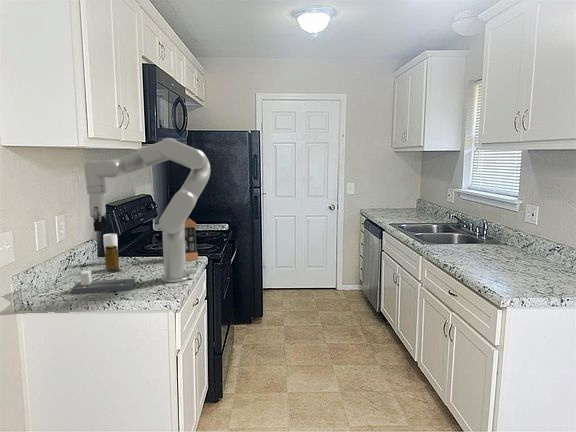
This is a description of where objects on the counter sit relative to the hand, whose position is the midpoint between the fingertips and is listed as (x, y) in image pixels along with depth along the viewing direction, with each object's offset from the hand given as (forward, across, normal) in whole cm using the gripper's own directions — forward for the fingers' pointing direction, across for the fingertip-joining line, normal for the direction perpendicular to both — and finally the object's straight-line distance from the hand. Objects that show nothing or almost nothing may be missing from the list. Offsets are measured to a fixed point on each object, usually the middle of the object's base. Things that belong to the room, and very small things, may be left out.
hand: (100, 229), depth 181 cm
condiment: (+24, -20, 0) cm, 31 cm away
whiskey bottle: (+25, -34, +35) cm, 55 cm away
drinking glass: (+24, -35, -3) cm, 42 cm away
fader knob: (+21, +9, -6) cm, 24 cm away
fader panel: (+24, +9, +1) cm, 25 cm away
